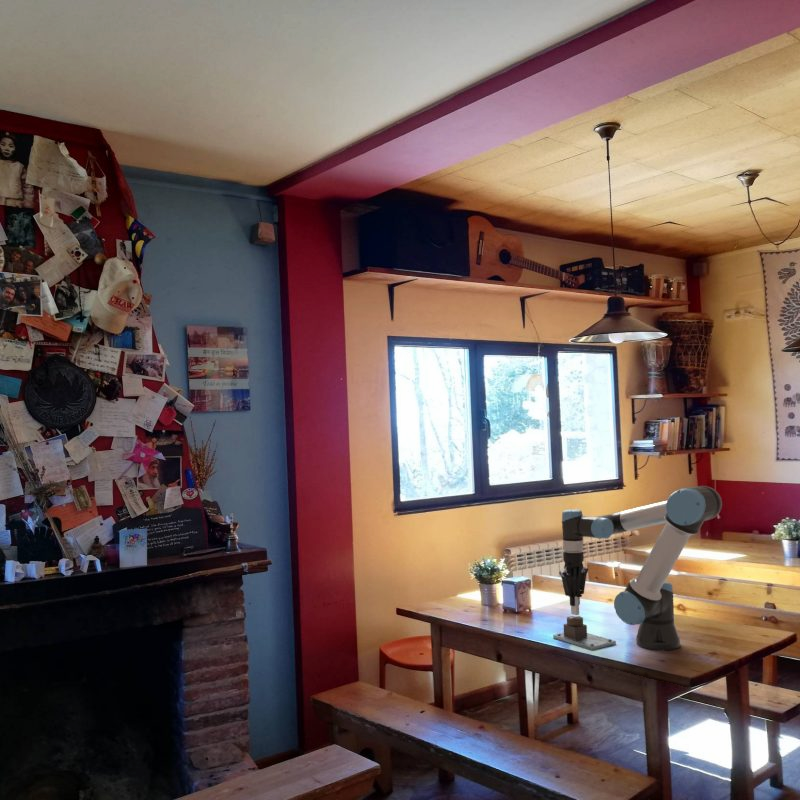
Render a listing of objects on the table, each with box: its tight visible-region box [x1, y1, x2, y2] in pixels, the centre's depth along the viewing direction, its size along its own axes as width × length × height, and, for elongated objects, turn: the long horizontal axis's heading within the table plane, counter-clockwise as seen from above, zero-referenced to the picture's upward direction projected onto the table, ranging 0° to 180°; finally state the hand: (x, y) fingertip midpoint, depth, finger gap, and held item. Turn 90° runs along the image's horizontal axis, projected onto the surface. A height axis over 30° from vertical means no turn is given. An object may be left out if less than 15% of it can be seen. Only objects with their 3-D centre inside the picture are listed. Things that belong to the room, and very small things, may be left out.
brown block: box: [563, 615, 588, 639], centre depth 297 cm, size 6×6×7 cm
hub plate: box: [552, 632, 617, 651], centre depth 294 cm, size 20×12×5 cm, turn 32°
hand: (575, 614), depth 297 cm, fingers closed
